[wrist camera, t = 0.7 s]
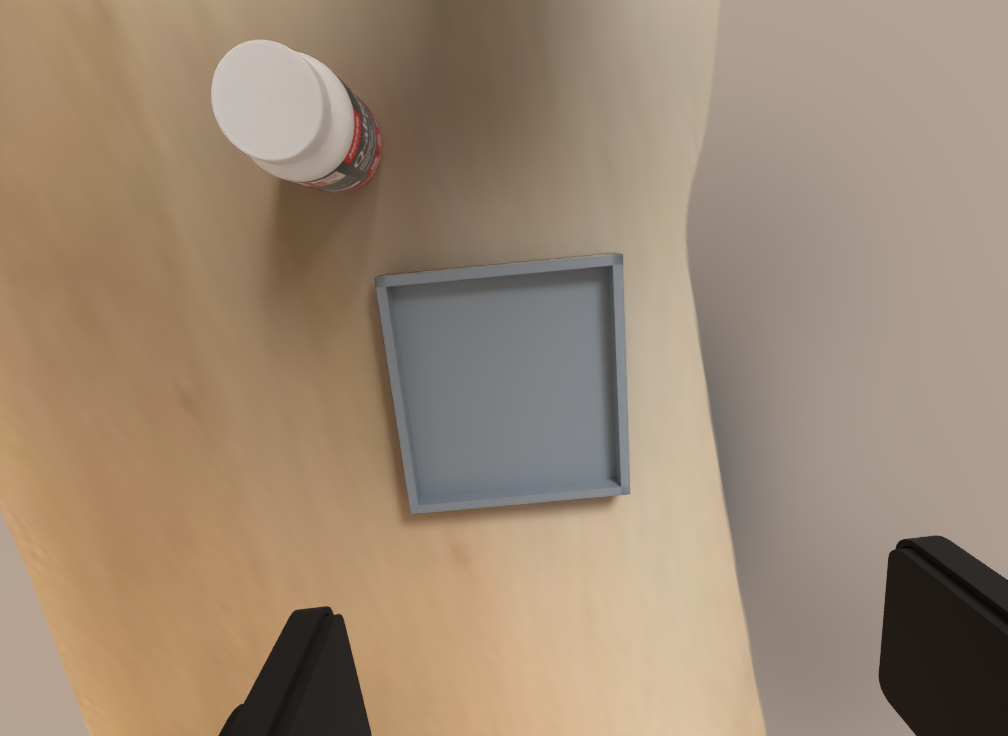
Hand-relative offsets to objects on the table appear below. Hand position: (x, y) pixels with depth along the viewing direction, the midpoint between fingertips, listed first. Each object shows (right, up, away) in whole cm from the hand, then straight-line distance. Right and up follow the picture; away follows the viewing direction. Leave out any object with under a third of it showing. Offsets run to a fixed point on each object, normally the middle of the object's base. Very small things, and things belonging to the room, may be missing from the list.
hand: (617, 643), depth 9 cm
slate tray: (-2, +4, +26) cm, 27 cm away
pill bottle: (-12, +18, +23) cm, 31 cm away
